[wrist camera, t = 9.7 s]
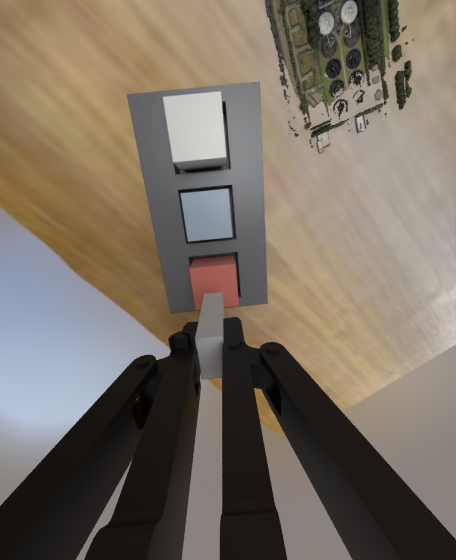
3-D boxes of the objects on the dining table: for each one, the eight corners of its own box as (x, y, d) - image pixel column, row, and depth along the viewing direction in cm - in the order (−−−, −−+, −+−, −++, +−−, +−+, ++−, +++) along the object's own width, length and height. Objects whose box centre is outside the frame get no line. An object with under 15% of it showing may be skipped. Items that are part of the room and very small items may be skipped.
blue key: (192, 236, 25) (187, 241, 22) (186, 195, 24) (180, 193, 20) (230, 232, 25) (232, 237, 22) (227, 191, 24) (228, 188, 20)
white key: (181, 170, 22) (173, 162, 18) (173, 117, 20) (162, 96, 17) (225, 166, 22) (226, 157, 18) (220, 113, 20) (220, 91, 17)
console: (178, 297, 31) (170, 313, 26) (145, 117, 24) (126, 94, 19) (260, 289, 31) (267, 303, 26) (251, 107, 24) (259, 81, 19)
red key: (199, 295, 26) (195, 310, 22) (194, 259, 25) (189, 268, 21) (236, 291, 26) (239, 305, 22) (233, 255, 25) (235, 263, 21)
